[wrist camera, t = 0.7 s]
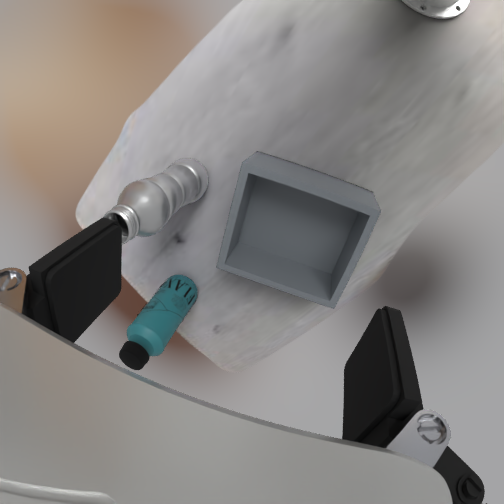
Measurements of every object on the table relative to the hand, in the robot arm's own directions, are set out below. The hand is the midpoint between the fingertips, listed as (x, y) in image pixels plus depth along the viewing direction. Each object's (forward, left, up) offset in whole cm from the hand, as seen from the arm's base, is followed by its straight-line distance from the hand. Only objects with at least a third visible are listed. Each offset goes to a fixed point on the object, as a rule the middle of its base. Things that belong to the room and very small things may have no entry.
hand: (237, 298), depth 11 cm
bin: (+10, +2, -35) cm, 36 cm away
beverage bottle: (+29, -13, -35) cm, 48 cm away
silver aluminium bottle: (+9, -15, -35) cm, 39 cm away
